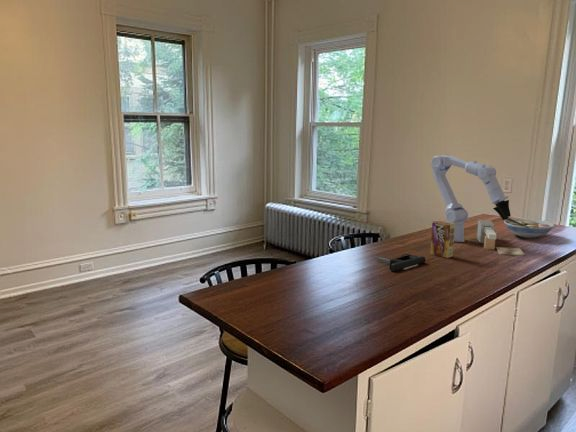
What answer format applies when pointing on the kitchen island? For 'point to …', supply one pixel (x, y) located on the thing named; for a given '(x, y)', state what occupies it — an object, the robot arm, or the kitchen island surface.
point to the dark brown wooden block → (480, 230)
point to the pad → (510, 251)
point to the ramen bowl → (528, 227)
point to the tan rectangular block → (489, 243)
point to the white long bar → (489, 232)
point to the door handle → (403, 262)
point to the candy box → (442, 238)
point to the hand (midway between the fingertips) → (506, 218)
